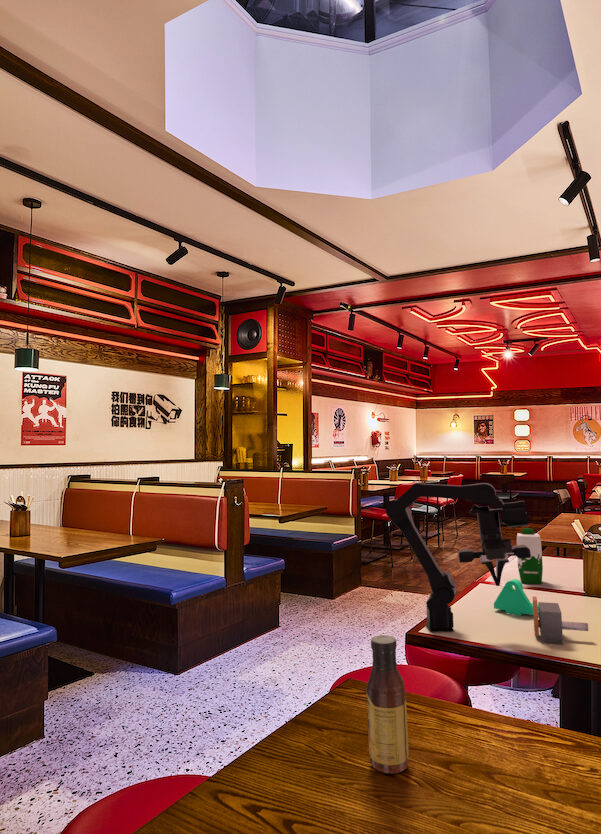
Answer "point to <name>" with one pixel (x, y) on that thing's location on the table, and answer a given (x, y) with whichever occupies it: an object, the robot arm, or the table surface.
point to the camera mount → (514, 599)
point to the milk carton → (530, 566)
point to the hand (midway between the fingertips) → (497, 585)
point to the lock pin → (564, 624)
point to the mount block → (550, 623)
